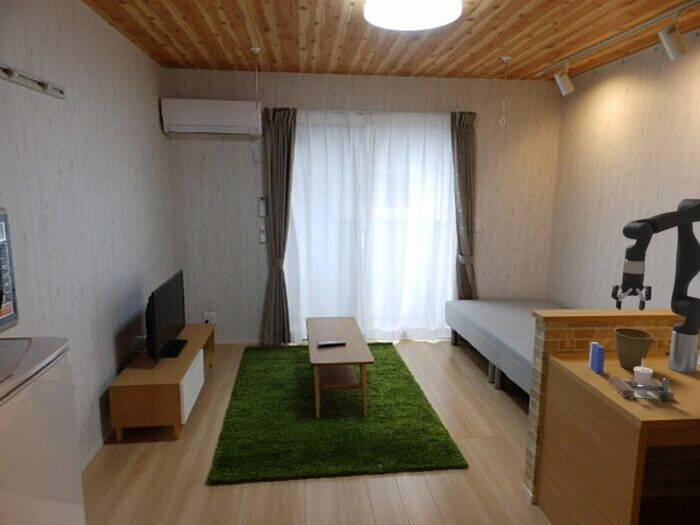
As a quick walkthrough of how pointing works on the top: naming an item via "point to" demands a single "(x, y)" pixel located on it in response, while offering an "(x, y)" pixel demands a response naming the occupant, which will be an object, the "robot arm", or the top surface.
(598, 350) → the walkman
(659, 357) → the top surface
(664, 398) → the dark grey piece
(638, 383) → the smoothie
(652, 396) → the bay mat
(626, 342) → the plant pot
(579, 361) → the top surface
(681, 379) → the top surface
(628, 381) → the tan frame
